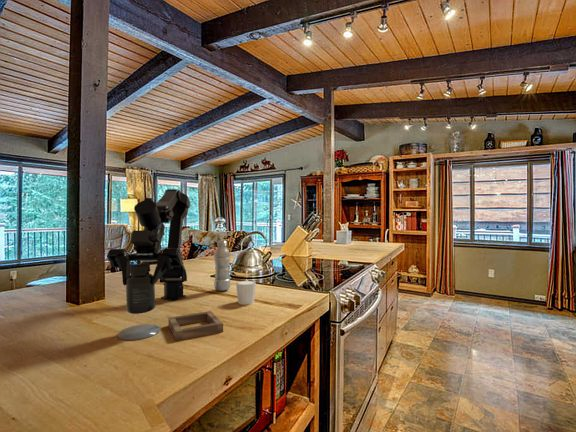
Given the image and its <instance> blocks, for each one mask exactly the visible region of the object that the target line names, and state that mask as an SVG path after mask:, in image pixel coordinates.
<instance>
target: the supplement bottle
mask: <svg viewBox="0 0 576 432" xmlns="http://www.w3.org/2000/svg"><path fill="white" fill-rule="evenodd" d="M130 265H131V266H130V273H131V274H130V276H128V277H127V279H126V285H125V290H126V291H125V293H126V297H125V298H126V311H127V313H129V314H132V315H139V314H144V313H145V314H146V313H148V312H151V311H153V310H154V309H155V308H156V297H155V296H156V294H155V292H156V289H155V287H156V286H155V284H156V283H155V284H154V285H152V278H153V275H154V274H152V273H150V272H151V264H150V263H136V264H130Z"/></svg>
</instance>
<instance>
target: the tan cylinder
mask: <svg viewBox="0 0 576 432" xmlns="http://www.w3.org/2000/svg"><path fill="white" fill-rule="evenodd" d="M256 285H257V284H256V282H255V281H254V280H241V281H237V282H236V285H235V286H236V294H237V295H236V297H237V304H238V305H243V306H245V305H252V304H254V303H255V298H256V297H255V295H256Z"/></svg>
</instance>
